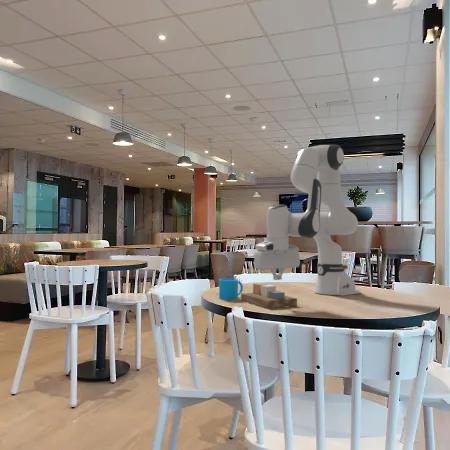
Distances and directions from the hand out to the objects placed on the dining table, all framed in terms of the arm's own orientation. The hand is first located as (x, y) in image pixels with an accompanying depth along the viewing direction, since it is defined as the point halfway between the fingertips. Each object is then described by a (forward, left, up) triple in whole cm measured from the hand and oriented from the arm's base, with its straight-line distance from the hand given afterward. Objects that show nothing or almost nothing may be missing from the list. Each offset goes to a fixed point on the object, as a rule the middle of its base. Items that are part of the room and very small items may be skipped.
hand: (277, 279), depth 172 cm
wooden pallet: (+1, -6, -10) cm, 12 cm away
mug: (+8, -24, -11) cm, 27 cm away
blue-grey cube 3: (+1, 0, -9) cm, 9 cm away
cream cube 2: (+1, -6, -8) cm, 10 cm away
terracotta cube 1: (+1, -12, -8) cm, 14 cm away
